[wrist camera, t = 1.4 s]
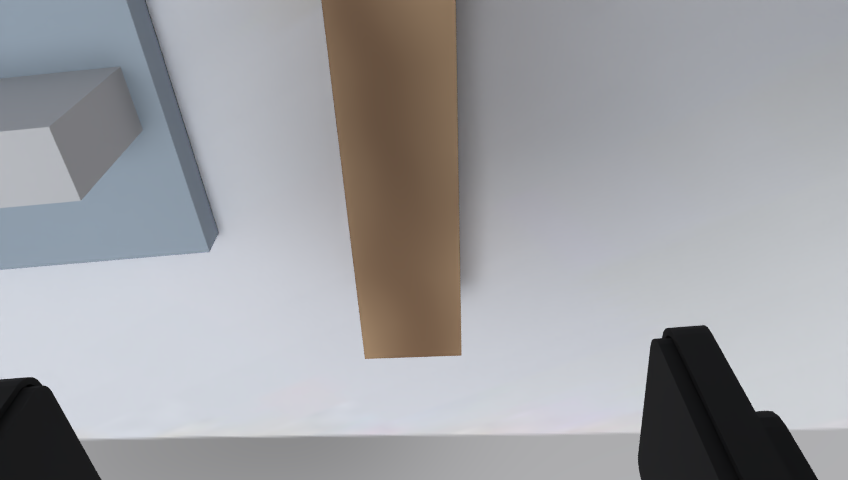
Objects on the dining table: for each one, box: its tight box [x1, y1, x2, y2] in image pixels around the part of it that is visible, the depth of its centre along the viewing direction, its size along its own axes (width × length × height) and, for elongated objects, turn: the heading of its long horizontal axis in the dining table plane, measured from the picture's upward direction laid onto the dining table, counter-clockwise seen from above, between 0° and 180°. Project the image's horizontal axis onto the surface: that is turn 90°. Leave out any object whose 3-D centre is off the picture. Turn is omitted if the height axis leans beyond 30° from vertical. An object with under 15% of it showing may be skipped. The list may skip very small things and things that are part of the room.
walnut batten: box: [321, 0, 461, 359], centre depth 24 cm, size 4×22×5 cm, turn 2°
